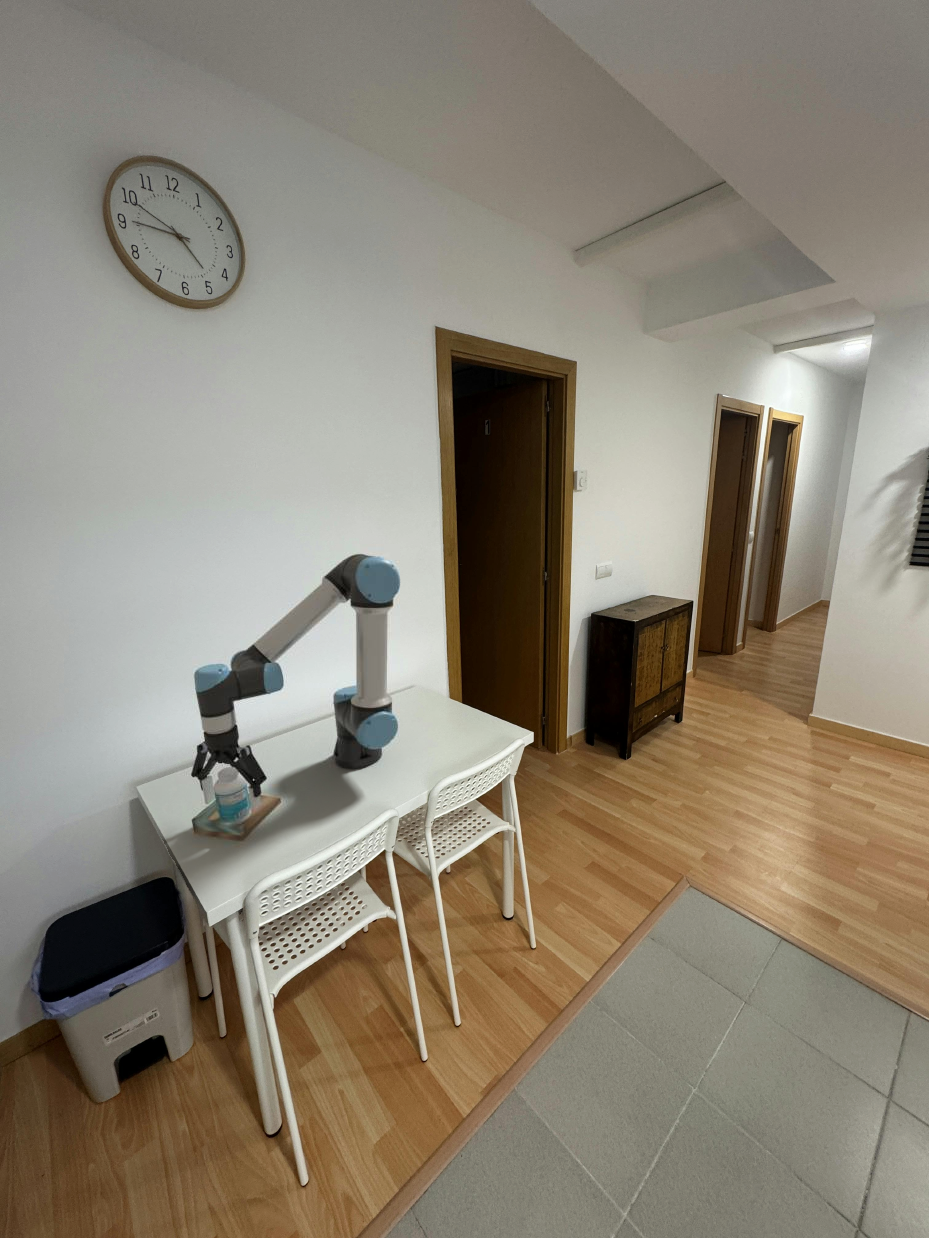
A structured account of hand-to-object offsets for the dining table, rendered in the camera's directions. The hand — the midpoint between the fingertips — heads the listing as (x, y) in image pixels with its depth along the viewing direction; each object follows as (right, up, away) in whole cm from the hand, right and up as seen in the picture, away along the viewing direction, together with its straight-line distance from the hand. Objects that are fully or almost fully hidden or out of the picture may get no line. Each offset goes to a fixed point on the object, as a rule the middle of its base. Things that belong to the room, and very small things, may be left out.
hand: (233, 804), depth 127 cm
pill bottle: (0, -4, +1) cm, 4 cm away
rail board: (0, -5, +4) cm, 6 cm away
